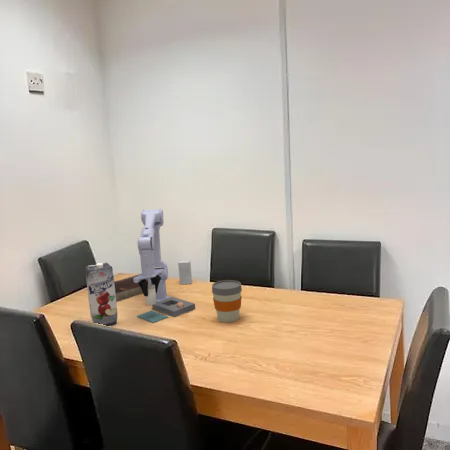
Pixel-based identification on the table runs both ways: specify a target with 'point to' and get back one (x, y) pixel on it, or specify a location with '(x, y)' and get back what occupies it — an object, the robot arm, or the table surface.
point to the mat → (152, 316)
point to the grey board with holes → (173, 306)
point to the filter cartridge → (151, 295)
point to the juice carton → (101, 293)
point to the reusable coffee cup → (227, 299)
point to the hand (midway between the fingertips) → (150, 294)
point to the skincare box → (185, 272)
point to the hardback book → (127, 288)
